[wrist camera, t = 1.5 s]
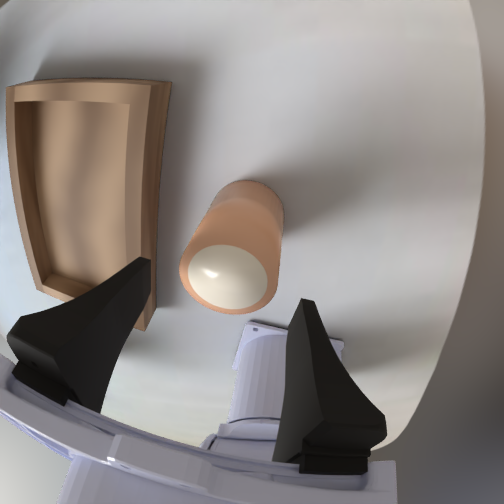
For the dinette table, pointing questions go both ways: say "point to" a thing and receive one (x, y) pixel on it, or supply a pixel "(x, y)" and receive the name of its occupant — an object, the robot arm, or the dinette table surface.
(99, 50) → the dinette table surface
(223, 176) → the dinette table surface
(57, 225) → the tray
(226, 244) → the tan and white cylinder
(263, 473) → the robot arm
